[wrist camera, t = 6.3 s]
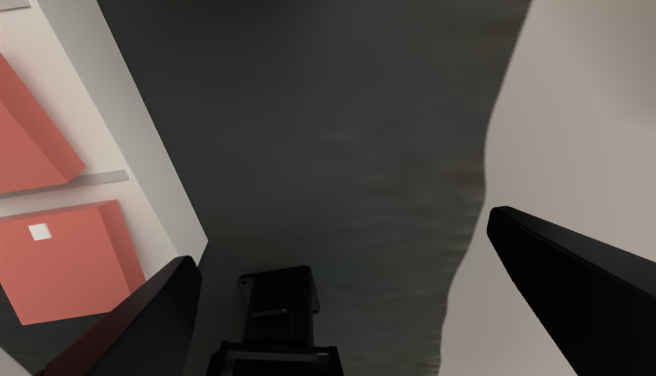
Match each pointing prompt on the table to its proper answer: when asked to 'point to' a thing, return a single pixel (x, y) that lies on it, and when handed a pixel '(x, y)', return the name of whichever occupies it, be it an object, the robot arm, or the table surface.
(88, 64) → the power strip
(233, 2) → the table surface
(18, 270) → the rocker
